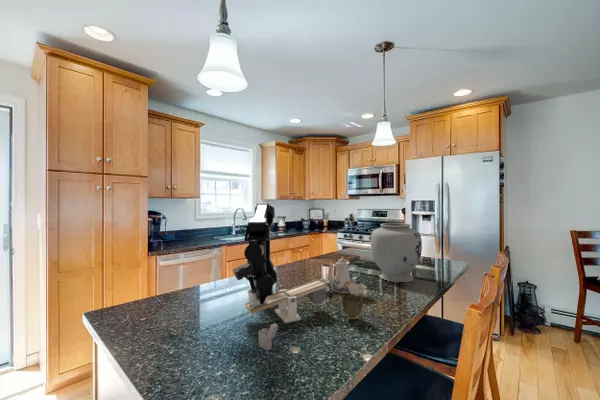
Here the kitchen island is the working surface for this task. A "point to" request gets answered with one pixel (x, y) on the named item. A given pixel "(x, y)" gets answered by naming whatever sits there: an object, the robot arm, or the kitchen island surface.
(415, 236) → the apothecary jar
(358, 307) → the cup
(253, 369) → the kitchen island surface
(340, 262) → the chinaware
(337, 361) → the kitchen island surface
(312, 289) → the beam
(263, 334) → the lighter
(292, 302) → the pivot stand
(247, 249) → the robot arm
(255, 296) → the steel block
